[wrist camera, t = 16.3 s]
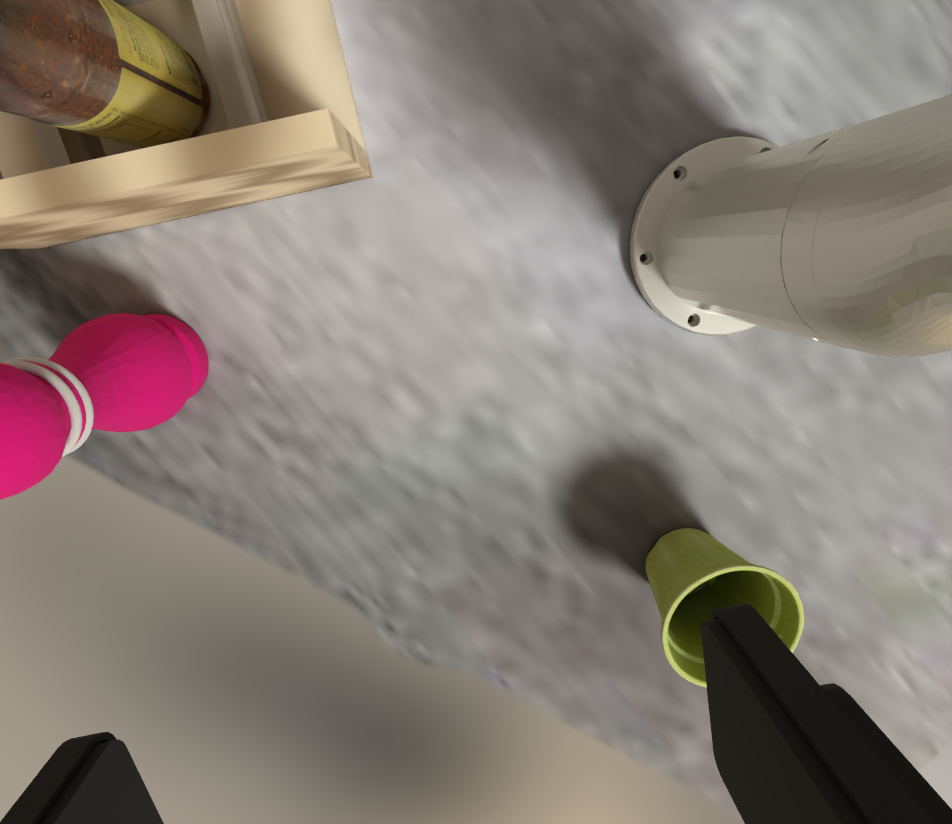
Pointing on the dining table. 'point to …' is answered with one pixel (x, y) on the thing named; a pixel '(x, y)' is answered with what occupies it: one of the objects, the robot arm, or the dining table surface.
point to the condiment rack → (216, 147)
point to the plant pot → (712, 595)
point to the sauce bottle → (98, 72)
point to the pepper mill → (94, 390)
